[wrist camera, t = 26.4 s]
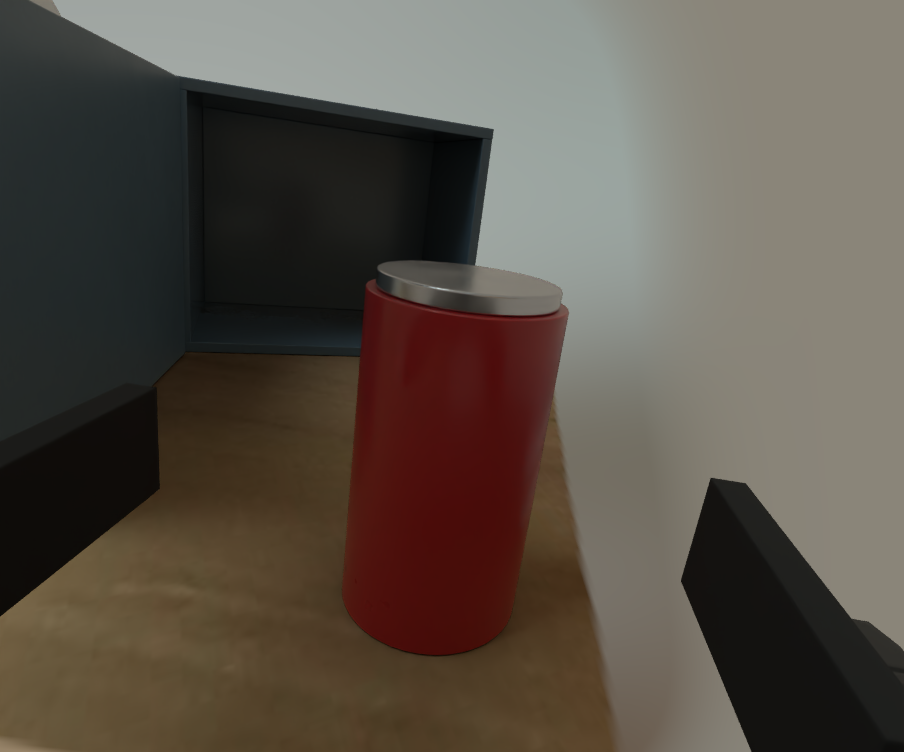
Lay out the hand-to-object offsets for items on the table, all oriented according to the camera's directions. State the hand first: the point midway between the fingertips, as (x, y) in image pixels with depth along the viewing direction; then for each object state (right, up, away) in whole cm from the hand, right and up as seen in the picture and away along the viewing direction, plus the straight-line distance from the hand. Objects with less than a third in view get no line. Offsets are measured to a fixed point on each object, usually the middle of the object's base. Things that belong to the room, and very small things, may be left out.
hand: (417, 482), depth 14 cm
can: (0, -6, +9) cm, 11 cm away
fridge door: (-21, +1, +19) cm, 29 cm away
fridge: (-12, +7, +42) cm, 44 cm away
